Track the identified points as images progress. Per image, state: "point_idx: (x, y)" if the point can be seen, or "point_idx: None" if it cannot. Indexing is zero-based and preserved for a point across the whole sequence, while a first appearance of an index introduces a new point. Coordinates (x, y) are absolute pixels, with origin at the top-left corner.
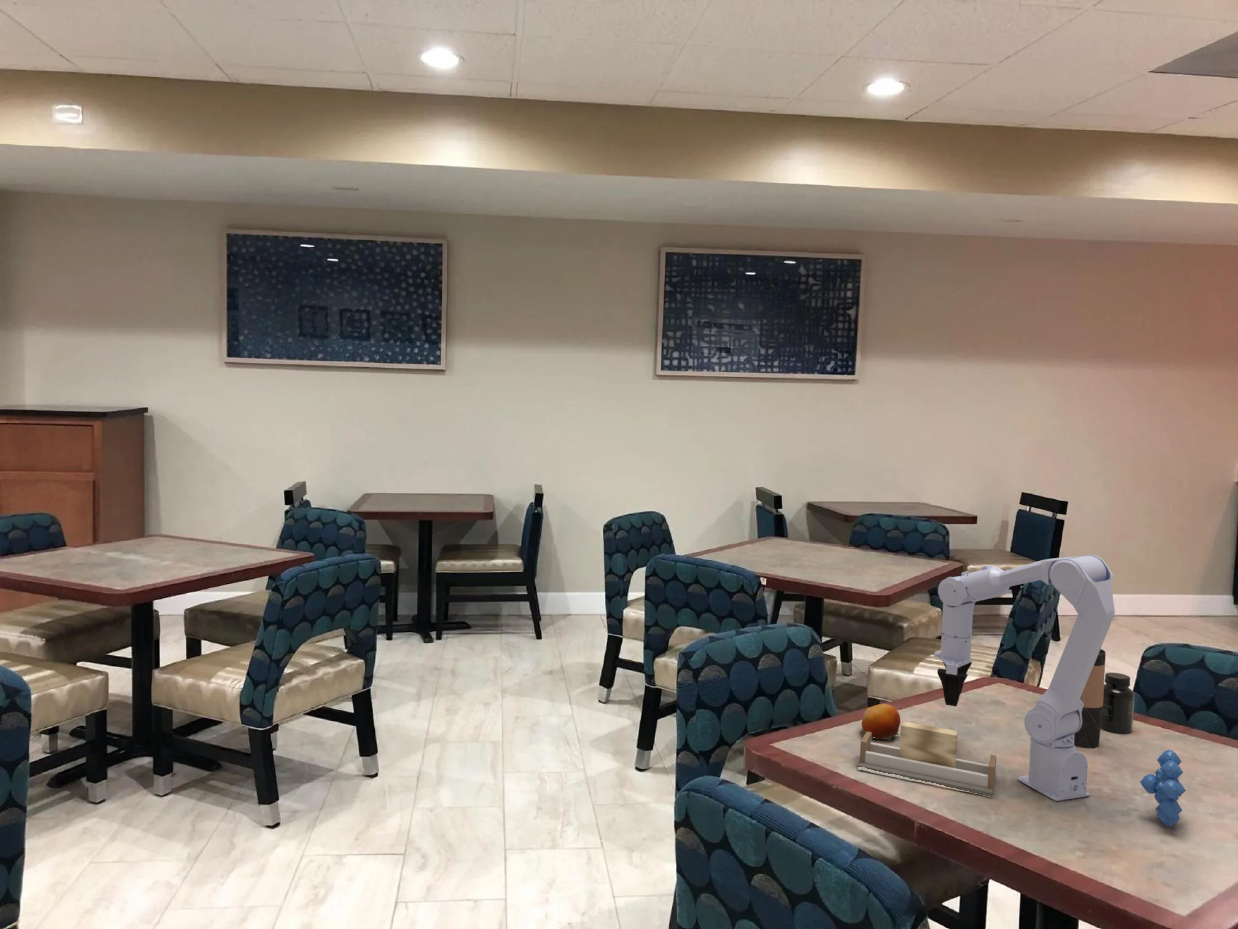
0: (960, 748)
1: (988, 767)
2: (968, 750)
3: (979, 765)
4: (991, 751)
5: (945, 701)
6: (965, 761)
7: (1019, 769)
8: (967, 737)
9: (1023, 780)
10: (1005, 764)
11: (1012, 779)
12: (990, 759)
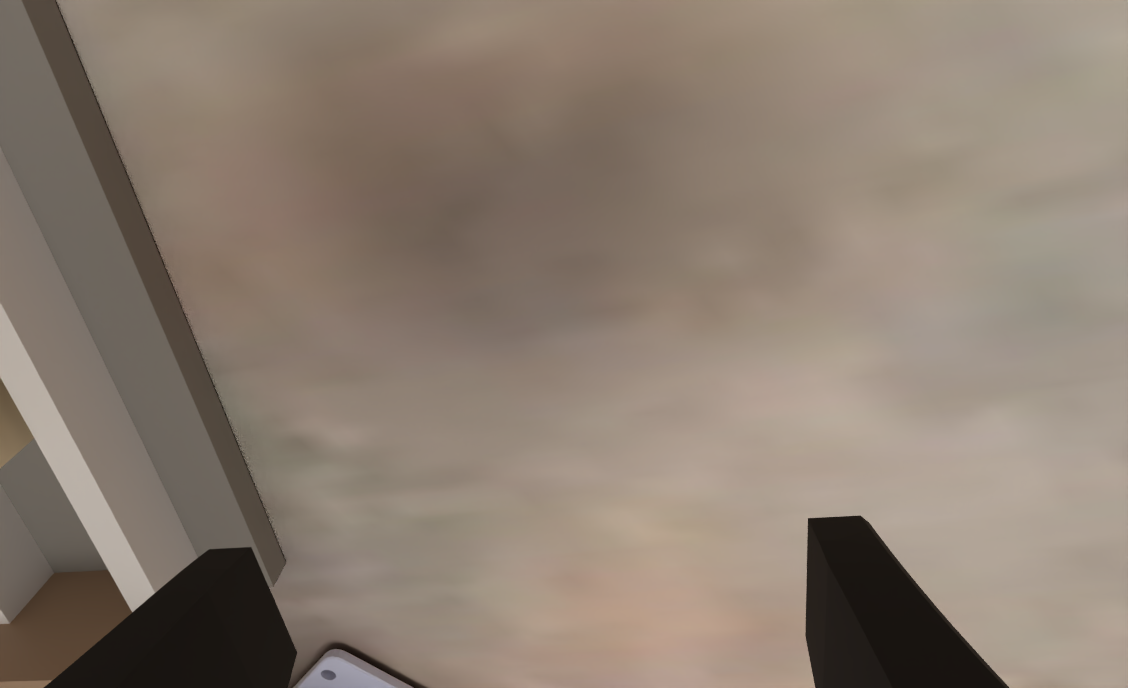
0: (640, 327)
1: (133, 609)
2: (634, 380)
3: (110, 570)
4: (712, 500)
5: (170, 585)
6: (78, 502)
7: (507, 639)
8: (935, 329)
9: (311, 679)
10: (532, 581)
11: (335, 624)
12: (43, 683)
